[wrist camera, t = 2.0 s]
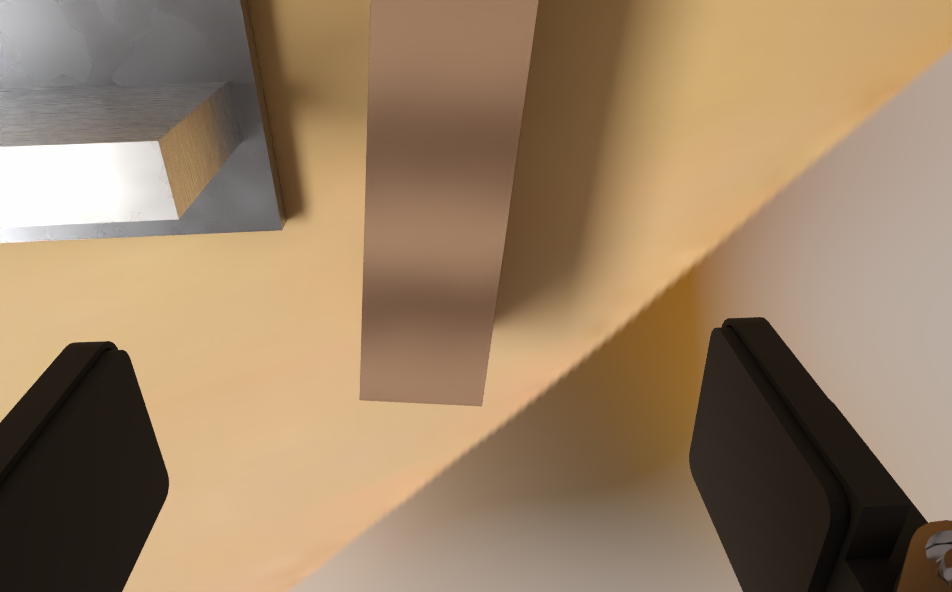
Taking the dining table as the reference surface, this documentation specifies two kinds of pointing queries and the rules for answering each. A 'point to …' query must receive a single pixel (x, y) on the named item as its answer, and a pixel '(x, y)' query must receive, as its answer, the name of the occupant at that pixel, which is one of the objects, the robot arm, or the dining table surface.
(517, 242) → the dining table surface
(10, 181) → the ridge stand
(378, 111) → the brown wooden block
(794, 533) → the robot arm
